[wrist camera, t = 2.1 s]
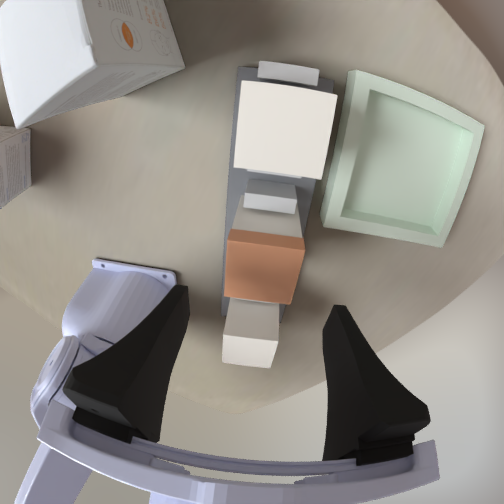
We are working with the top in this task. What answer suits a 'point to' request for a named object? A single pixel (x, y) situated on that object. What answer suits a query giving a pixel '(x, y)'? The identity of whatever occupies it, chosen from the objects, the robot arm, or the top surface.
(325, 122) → the block
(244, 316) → the block
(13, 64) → the small box
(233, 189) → the fuse holder
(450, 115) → the tray
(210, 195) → the top surface
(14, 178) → the light bulb box
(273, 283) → the block
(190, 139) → the top surface
